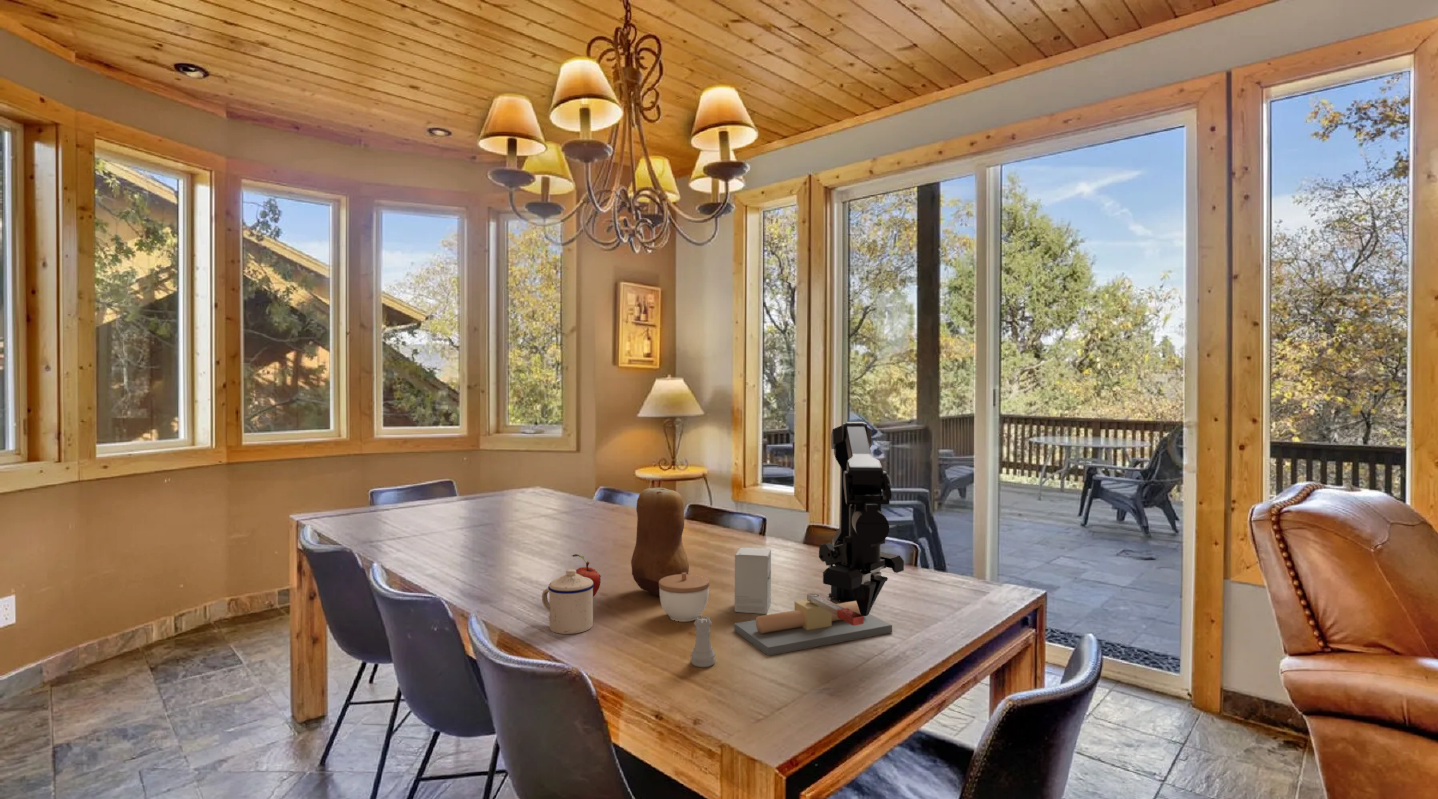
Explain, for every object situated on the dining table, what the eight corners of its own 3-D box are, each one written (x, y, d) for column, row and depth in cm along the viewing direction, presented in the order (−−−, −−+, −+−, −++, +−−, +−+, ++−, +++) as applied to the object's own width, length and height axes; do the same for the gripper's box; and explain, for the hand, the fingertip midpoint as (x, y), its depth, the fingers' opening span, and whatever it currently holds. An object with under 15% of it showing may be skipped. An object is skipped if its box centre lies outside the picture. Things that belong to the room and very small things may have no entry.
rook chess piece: (689, 658, 121) (689, 614, 121) (714, 657, 122) (714, 613, 122) (690, 668, 117) (690, 622, 117) (716, 667, 117) (716, 621, 117)
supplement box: (767, 614, 145) (767, 555, 145) (733, 612, 147) (733, 554, 146) (771, 604, 152) (771, 548, 152) (739, 602, 154) (739, 546, 154)
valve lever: (804, 600, 135) (804, 593, 135) (814, 598, 136) (814, 591, 136) (853, 625, 121) (853, 618, 121) (864, 623, 122) (864, 616, 122)
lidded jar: (683, 629, 136) (683, 583, 136) (648, 617, 143) (648, 573, 143) (719, 616, 144) (719, 572, 144) (684, 605, 151) (684, 563, 151)
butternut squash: (695, 586, 166) (694, 484, 165) (680, 603, 152) (680, 493, 152) (640, 583, 168) (640, 483, 168) (622, 599, 155) (622, 491, 155)
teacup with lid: (603, 623, 140) (603, 567, 139) (574, 638, 131) (574, 578, 131) (557, 615, 145) (557, 560, 145) (527, 628, 137) (527, 571, 137)
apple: (604, 594, 160) (604, 551, 160) (596, 603, 153) (596, 559, 153) (573, 593, 161) (573, 551, 161) (563, 601, 154) (563, 558, 154)
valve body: (850, 611, 147) (850, 583, 147) (892, 632, 134) (892, 601, 134) (734, 630, 135) (734, 599, 135) (768, 655, 123) (768, 621, 123)
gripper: (856, 519, 138) (856, 595, 139) (799, 533, 125) (799, 617, 125) (905, 527, 130) (905, 607, 131) (849, 542, 117) (849, 632, 117)
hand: (864, 615), depth 126 cm, fingers closed
